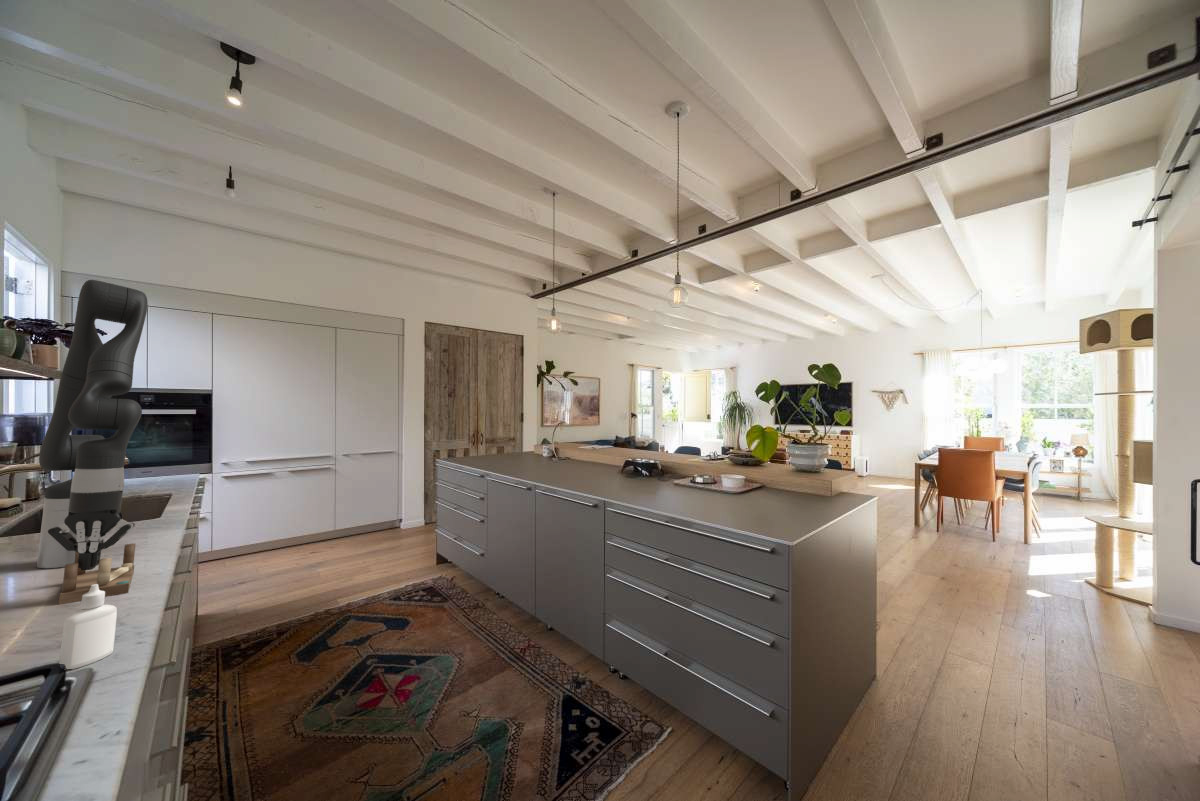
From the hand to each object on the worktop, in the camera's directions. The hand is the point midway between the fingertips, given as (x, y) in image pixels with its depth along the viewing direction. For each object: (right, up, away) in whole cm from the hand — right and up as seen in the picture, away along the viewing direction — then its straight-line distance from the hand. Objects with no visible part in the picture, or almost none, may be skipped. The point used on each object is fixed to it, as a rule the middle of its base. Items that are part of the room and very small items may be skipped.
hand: (88, 569), depth 93 cm
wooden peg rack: (-2, -6, +4) cm, 7 cm away
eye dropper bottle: (+29, -6, -24) cm, 38 cm away
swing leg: (+1, -4, +5) cm, 6 cm away
